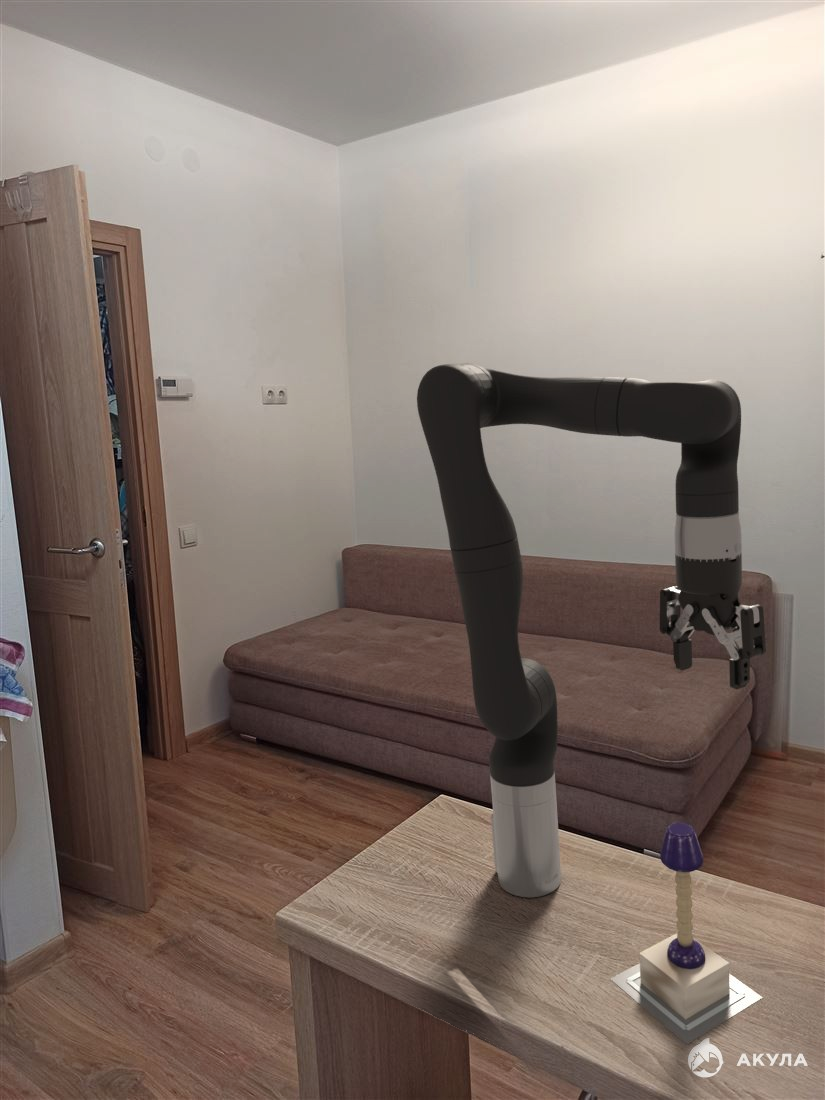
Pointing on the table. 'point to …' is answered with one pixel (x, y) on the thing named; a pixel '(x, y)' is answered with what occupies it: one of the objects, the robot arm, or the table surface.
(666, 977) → the cream block
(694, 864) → the toy lamp
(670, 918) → the table surface
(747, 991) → the slate board
